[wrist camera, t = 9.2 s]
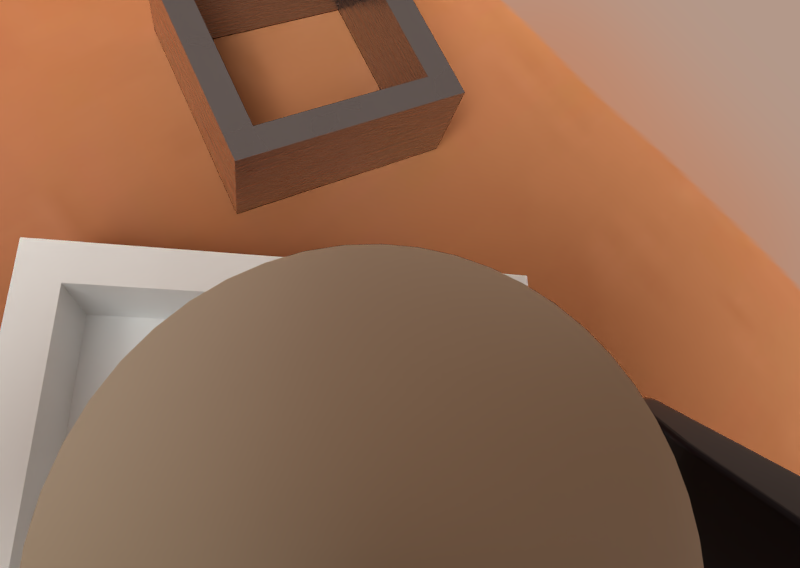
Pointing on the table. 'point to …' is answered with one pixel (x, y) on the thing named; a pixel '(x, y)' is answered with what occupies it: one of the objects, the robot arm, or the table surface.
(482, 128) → the table surface
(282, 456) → the dowel
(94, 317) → the tray
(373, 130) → the collar
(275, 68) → the table surface
